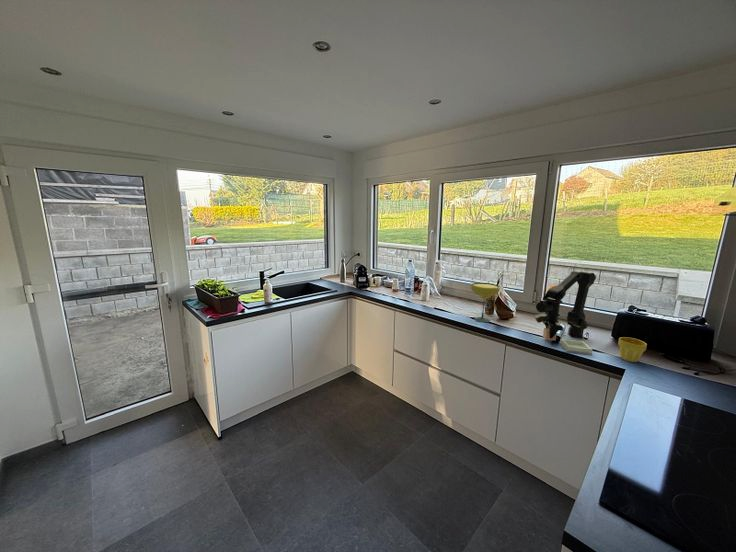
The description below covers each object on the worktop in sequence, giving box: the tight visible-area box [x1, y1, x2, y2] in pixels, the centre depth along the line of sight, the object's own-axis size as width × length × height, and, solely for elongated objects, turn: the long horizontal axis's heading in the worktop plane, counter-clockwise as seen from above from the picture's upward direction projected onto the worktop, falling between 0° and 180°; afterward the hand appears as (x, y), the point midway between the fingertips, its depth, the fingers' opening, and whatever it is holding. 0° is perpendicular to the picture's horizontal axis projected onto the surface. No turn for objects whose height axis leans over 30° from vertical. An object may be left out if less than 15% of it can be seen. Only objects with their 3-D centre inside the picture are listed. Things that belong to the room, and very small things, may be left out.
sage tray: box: [559, 338, 593, 356], centre depth 156 cm, size 11×11×3 cm
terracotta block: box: [542, 327, 557, 341], centre depth 166 cm, size 5×5×5 cm
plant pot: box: [617, 336, 648, 363], centre depth 144 cm, size 10×10×10 cm
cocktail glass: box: [470, 282, 501, 324], centre depth 199 cm, size 18×18×25 cm
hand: (549, 336), depth 167 cm, fingers closed on terracotta block, 5 cm apart
